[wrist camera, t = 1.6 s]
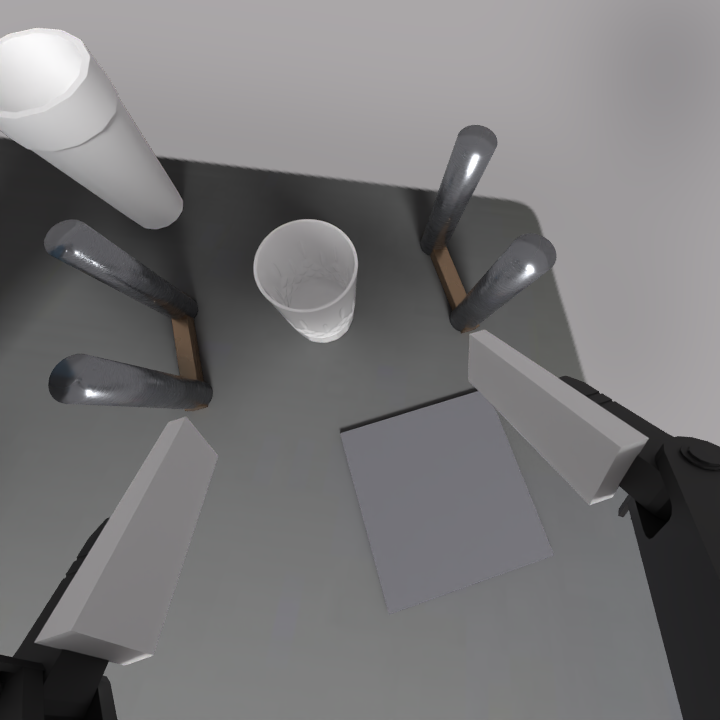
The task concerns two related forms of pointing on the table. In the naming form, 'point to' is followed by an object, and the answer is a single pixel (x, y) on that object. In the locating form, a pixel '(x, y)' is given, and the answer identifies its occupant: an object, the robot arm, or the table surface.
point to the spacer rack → (124, 273)
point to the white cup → (309, 277)
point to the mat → (442, 500)
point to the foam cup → (81, 124)
